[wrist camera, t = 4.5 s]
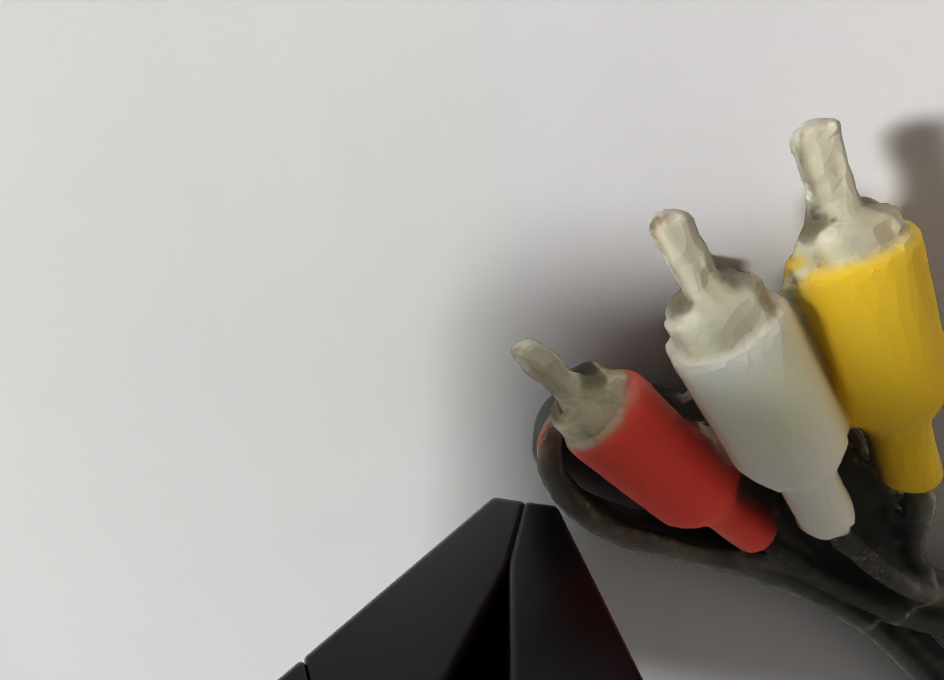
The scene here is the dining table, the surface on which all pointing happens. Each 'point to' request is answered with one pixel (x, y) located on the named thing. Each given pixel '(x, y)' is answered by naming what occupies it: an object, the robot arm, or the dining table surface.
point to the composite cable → (779, 417)
